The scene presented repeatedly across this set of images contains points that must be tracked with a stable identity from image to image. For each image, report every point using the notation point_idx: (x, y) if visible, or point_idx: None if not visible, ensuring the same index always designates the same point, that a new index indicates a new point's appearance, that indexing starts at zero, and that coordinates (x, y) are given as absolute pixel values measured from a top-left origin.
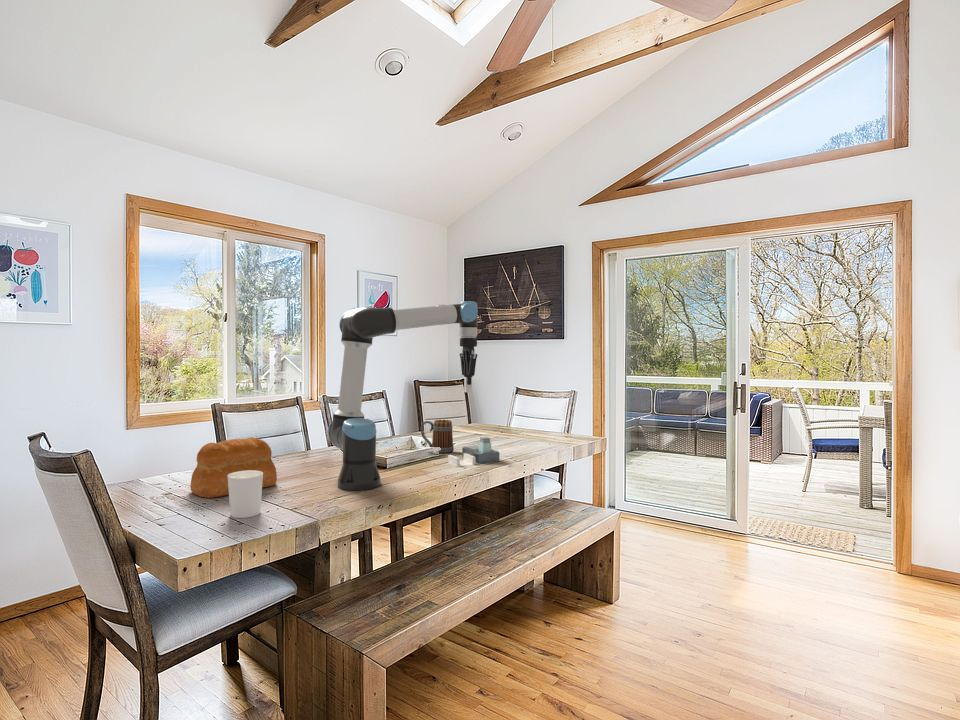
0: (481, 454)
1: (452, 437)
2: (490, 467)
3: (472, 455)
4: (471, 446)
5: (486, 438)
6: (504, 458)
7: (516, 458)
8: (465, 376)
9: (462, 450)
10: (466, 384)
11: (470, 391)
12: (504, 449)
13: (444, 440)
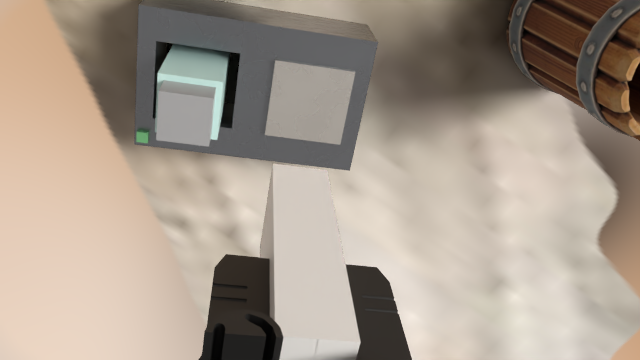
0: (139, 24)
1: (562, 93)
2: (91, 27)
3: (230, 13)
4: (346, 92)
5: (157, 113)
6: (244, 208)
7: (214, 252)
8: (231, 320)
9: (373, 36)
10: (271, 244)
11: (262, 239)
12: (410, 314)
13: (555, 15)
